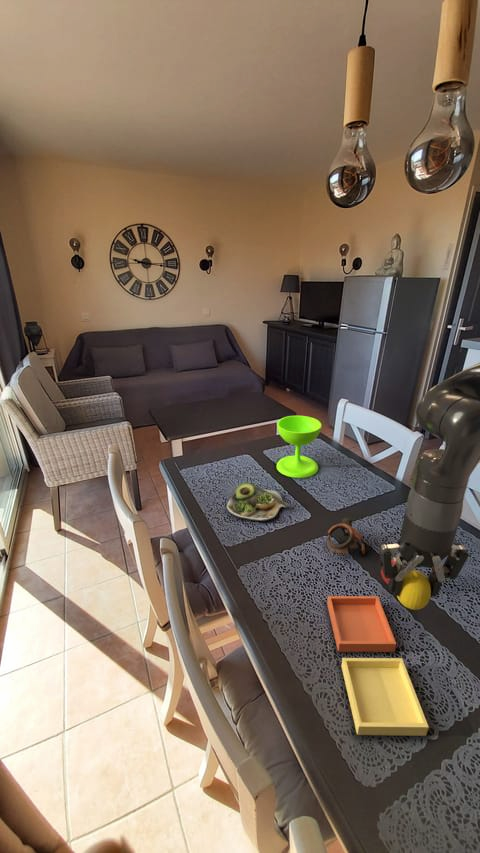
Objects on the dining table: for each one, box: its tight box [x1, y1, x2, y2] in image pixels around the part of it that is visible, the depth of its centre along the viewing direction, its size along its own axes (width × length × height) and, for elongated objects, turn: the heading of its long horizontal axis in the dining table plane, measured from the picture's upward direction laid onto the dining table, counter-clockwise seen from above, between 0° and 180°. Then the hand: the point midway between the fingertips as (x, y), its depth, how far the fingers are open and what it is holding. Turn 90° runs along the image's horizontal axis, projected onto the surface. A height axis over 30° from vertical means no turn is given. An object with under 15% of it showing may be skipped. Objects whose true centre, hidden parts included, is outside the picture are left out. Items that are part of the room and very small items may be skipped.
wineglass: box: [276, 415, 322, 479], centre depth 135 cm, size 16×16×18 cm
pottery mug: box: [326, 517, 366, 556], centre depth 98 cm, size 12×10×8 cm
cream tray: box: [341, 657, 430, 737], centre depth 64 cm, size 11×11×2 cm
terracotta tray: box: [326, 595, 397, 653], centre depth 77 cm, size 11×11×2 cm
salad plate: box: [225, 482, 290, 522], centre depth 116 cm, size 19×18×5 cm
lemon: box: [396, 569, 432, 611], centre depth 63 cm, size 6×6×8 cm
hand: (412, 592), depth 63 cm, fingers closed on lemon, 5 cm apart
